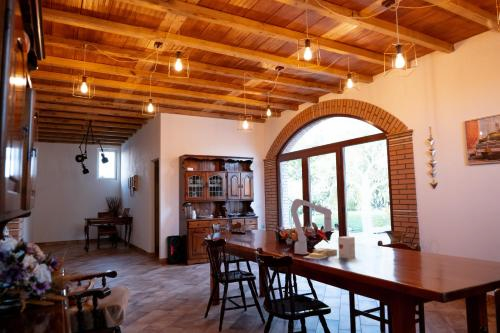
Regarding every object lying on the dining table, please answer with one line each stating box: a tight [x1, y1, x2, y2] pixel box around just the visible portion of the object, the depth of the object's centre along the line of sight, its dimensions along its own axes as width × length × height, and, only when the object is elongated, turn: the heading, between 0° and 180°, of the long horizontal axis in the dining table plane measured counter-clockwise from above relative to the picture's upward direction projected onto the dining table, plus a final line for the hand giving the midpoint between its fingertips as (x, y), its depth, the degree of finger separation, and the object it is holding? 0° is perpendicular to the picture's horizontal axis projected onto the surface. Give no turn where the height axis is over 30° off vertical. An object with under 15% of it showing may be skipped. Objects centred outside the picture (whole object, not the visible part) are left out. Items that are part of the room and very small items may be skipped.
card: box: [308, 252, 324, 258], centre depth 269 cm, size 9×6×2 cm, turn 46°
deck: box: [312, 247, 338, 258], centre depth 278 cm, size 14×12×4 cm
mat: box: [303, 255, 329, 260], centre depth 268 cm, size 14×13×1 cm
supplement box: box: [337, 236, 356, 260], centre depth 265 cm, size 9×9×15 cm
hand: (328, 240), depth 286 cm, fingers closed
